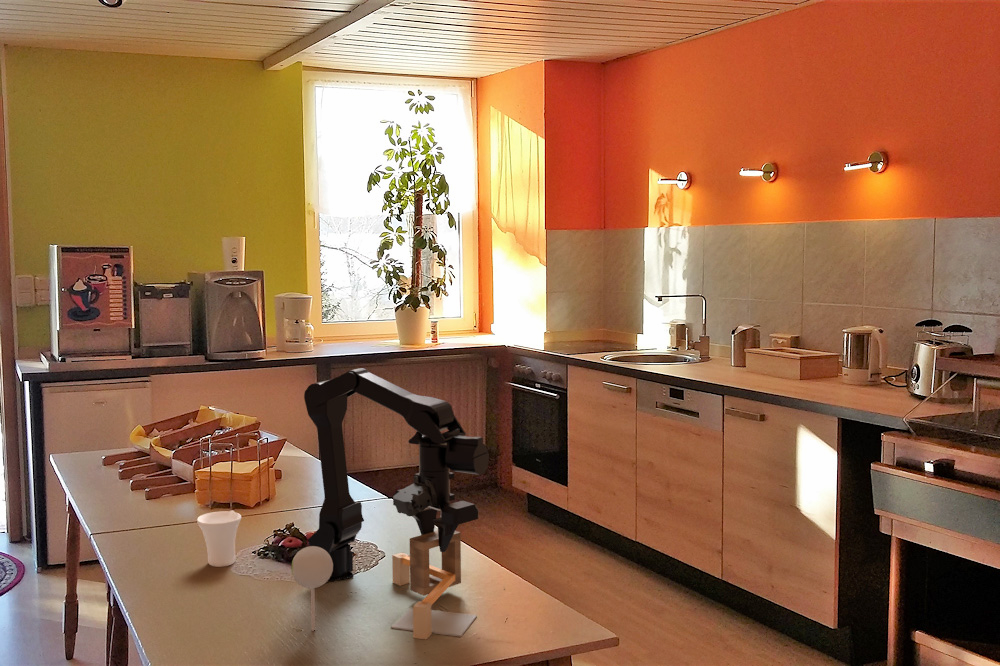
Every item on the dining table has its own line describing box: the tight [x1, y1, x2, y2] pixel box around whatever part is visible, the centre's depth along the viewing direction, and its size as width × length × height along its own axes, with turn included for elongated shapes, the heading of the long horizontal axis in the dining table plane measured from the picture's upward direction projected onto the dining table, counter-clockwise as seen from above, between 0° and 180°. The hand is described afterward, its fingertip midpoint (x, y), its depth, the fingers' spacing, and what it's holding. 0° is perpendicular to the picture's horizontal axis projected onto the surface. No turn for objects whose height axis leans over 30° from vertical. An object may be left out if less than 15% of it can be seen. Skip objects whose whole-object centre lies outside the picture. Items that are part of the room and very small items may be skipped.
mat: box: [390, 607, 477, 638], centre depth 176 cm, size 9×13×1 cm
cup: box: [196, 509, 242, 568], centre depth 207 cm, size 9×9×10 cm
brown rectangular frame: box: [409, 530, 462, 597], centre depth 187 cm, size 4×9×10 cm, turn 134°
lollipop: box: [290, 546, 333, 632], centre depth 172 cm, size 7×7×15 cm
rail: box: [391, 552, 455, 640], centre depth 183 cm, size 13×28×6 cm, turn 29°
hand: (435, 549), depth 187 cm, fingers closed on brown rectangular frame, 4 cm apart
